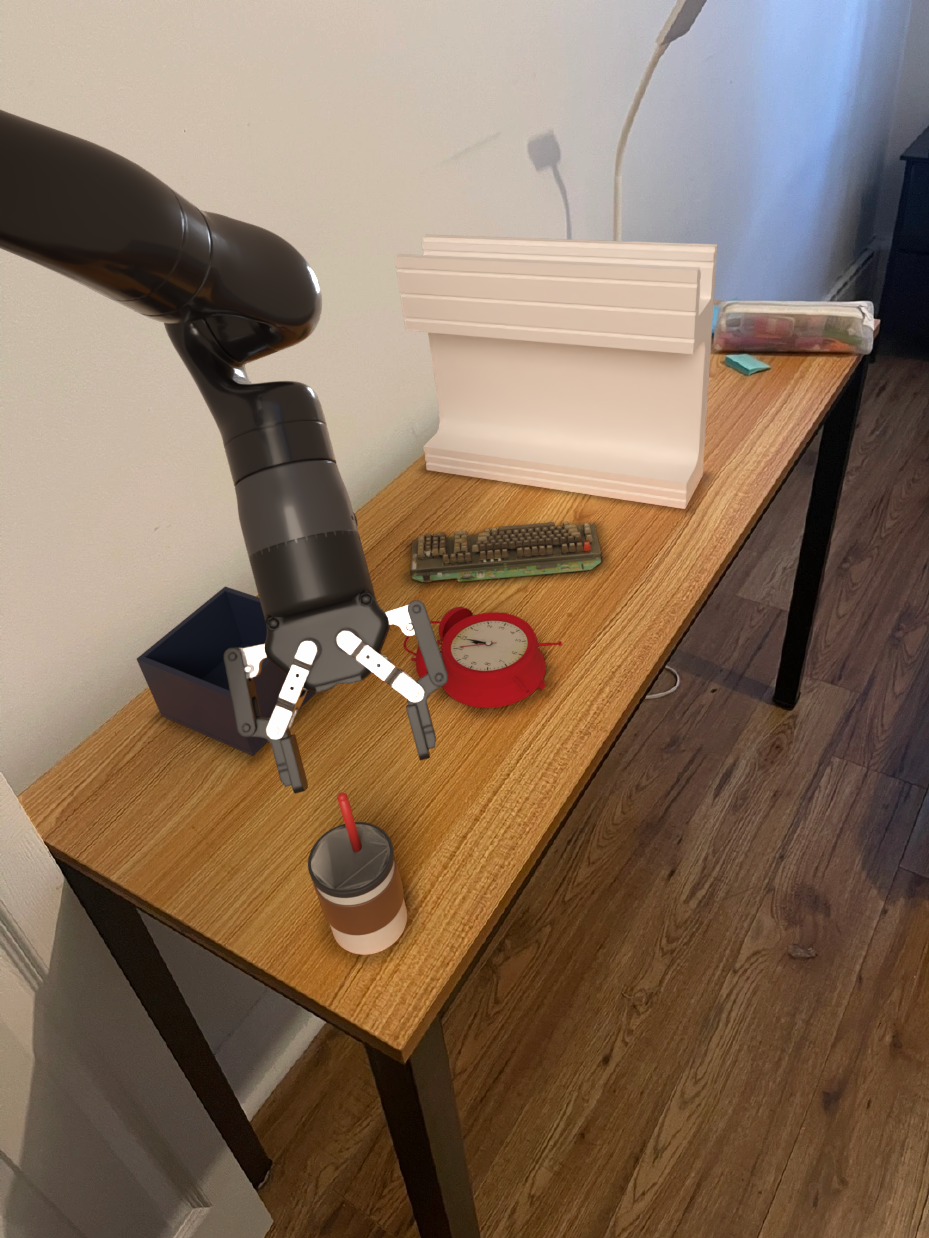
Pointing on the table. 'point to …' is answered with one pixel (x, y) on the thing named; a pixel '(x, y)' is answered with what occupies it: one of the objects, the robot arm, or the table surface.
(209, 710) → the bin
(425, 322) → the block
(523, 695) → the alarm clock
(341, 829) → the paper cup
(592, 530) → the keyboard
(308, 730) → the table surface
